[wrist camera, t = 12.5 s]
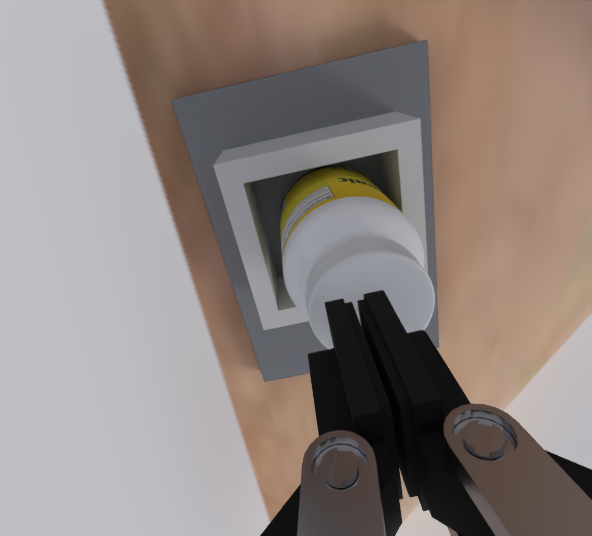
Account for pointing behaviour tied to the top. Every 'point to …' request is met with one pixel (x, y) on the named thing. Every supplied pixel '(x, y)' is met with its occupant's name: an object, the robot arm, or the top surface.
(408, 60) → the collar stand
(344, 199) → the supplement bottle
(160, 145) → the top surface
